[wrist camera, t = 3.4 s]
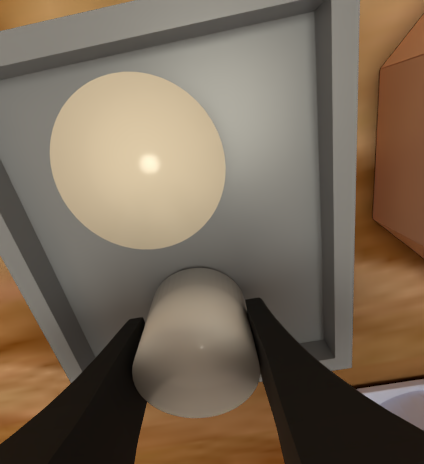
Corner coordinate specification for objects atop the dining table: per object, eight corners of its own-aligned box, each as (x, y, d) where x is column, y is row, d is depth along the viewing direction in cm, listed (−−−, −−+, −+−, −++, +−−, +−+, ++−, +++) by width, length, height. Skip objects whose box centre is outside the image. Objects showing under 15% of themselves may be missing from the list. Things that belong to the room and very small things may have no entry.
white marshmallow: (250, 336, 13) (266, 408, 10) (165, 350, 13) (151, 425, 10) (237, 260, 11) (251, 314, 8) (140, 277, 12) (114, 337, 8)
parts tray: (333, 337, 15) (351, 367, 13) (100, 374, 15) (85, 408, 13) (327, -14, 9) (361, -52, 7) (-48, 70, 9) (-111, 56, 8)
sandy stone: (227, 201, 11) (237, 234, 7) (123, 220, 11) (87, 261, 8) (206, 80, 9) (207, 52, 6) (85, 106, 9) (17, 93, 6)
